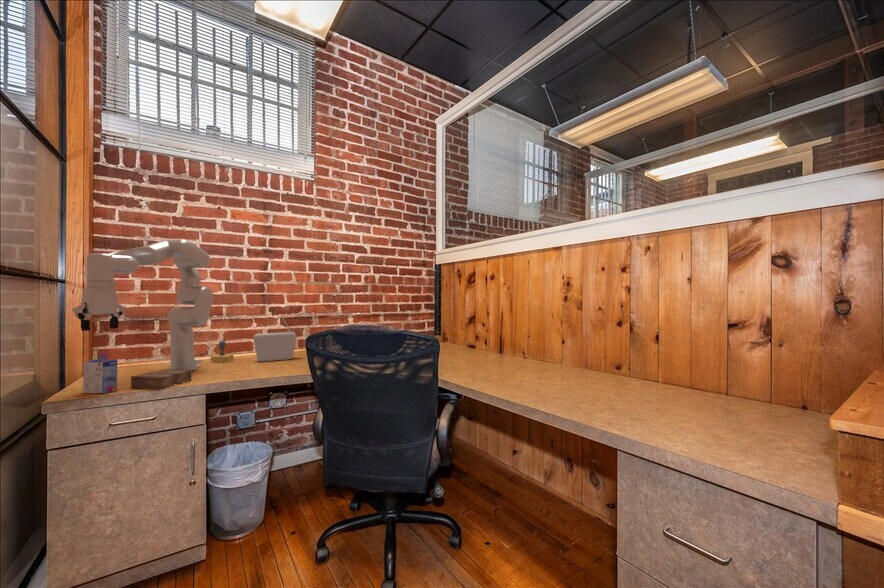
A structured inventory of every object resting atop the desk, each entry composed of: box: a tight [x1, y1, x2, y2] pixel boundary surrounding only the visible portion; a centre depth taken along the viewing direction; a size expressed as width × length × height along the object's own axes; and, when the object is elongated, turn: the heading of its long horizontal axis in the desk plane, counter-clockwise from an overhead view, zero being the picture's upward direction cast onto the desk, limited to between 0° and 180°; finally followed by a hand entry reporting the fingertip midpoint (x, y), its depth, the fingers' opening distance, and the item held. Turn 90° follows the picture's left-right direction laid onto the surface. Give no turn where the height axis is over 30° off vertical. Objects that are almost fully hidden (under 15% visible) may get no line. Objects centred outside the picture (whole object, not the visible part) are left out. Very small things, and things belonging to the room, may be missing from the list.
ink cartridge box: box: [82, 353, 118, 394], centre depth 136 cm, size 10×6×14 cm, turn 78°
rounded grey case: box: [253, 316, 297, 363], centre depth 203 cm, size 22×8×25 cm, turn 116°
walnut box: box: [130, 368, 192, 390], centre depth 148 cm, size 14×14×5 cm
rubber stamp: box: [210, 339, 235, 363], centre depth 199 cm, size 10×6×12 cm, turn 86°
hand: (100, 329), depth 136 cm, fingers open, 9 cm apart
